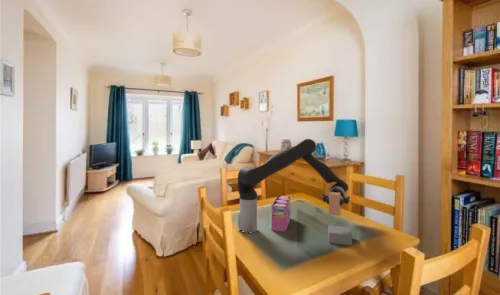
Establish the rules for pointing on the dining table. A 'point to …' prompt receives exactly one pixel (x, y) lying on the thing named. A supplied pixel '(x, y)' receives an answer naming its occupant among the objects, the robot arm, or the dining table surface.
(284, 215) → the gum box
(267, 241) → the dining table surface
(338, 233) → the grey base block
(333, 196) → the terracotta block
